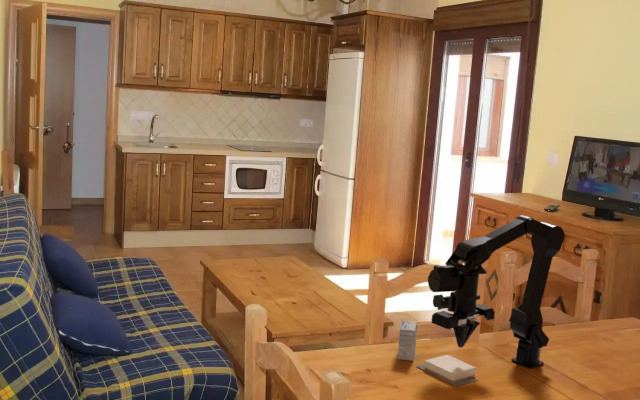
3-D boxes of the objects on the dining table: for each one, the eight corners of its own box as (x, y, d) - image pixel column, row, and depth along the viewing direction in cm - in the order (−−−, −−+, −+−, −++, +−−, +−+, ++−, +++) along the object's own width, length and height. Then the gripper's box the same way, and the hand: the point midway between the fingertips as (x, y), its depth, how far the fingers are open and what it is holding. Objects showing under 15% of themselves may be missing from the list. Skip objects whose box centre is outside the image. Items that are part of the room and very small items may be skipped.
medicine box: (413, 361, 186) (416, 331, 185) (397, 359, 187) (399, 329, 186) (415, 351, 194) (417, 322, 193) (399, 349, 195) (402, 320, 194)
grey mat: (437, 361, 188) (437, 360, 188) (477, 380, 177) (477, 379, 177) (416, 367, 183) (416, 366, 183) (456, 386, 172) (456, 385, 172)
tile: (447, 354, 187) (425, 360, 181) (475, 367, 179) (453, 373, 174) (446, 362, 187) (424, 368, 182) (475, 375, 179) (453, 382, 174)
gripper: (466, 278, 191) (460, 331, 193) (418, 286, 180) (413, 343, 182) (498, 288, 182) (492, 344, 185) (450, 297, 171) (445, 357, 173)
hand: (460, 346), depth 181 cm, fingers closed
